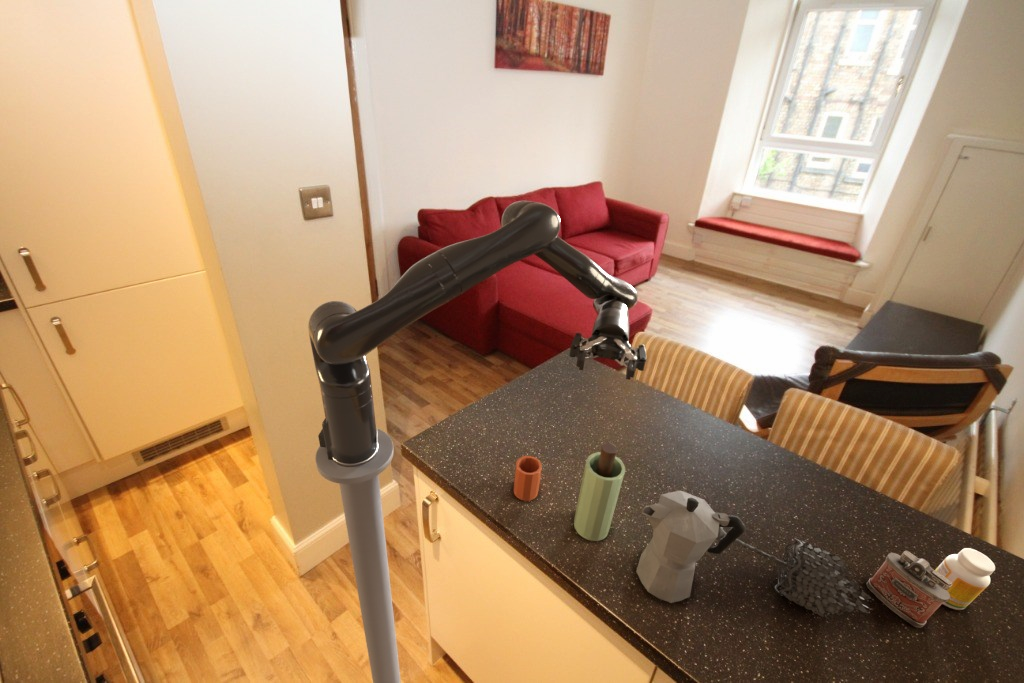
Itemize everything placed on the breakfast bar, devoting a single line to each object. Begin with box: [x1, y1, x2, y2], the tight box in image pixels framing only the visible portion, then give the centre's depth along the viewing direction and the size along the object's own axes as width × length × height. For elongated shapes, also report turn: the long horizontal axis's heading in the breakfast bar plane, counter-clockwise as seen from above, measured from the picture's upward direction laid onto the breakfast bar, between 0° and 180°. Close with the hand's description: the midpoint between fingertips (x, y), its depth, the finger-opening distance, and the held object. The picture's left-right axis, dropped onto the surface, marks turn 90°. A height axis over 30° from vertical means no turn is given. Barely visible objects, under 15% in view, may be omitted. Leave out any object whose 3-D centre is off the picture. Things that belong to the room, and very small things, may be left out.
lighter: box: [866, 550, 952, 629], centre depth 70 cm, size 8×3×10 cm, turn 27°
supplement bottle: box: [935, 547, 996, 611], centre depth 72 cm, size 5×5×10 cm
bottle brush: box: [596, 442, 618, 478], centre depth 76 cm, size 3×3×18 cm
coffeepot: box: [635, 490, 746, 604], centre depth 69 cm, size 15×9×18 cm, turn 85°
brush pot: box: [513, 455, 543, 502], centre depth 85 cm, size 5×5×7 cm
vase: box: [573, 451, 626, 542], centre depth 78 cm, size 6×6×15 cm
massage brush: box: [715, 527, 875, 620], centre depth 72 cm, size 9×22×9 cm, turn 58°
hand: (605, 370), depth 80 cm, fingers open, 8 cm apart
